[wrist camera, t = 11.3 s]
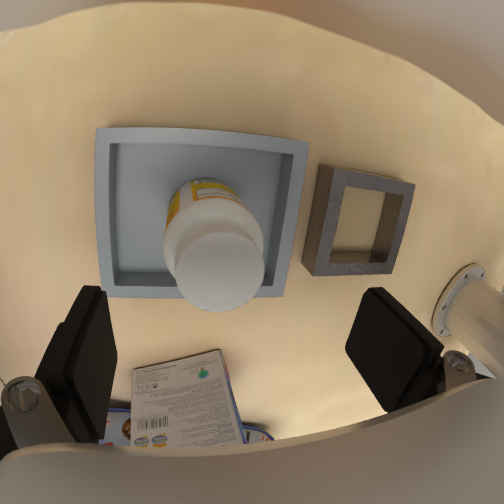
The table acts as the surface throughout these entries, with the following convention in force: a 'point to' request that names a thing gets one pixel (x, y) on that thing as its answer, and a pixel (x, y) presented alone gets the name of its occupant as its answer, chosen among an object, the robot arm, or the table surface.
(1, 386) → the medicine bottle
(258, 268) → the supplement bottle
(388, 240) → the collar
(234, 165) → the tray
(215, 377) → the ink cartridge box
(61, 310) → the table surface
